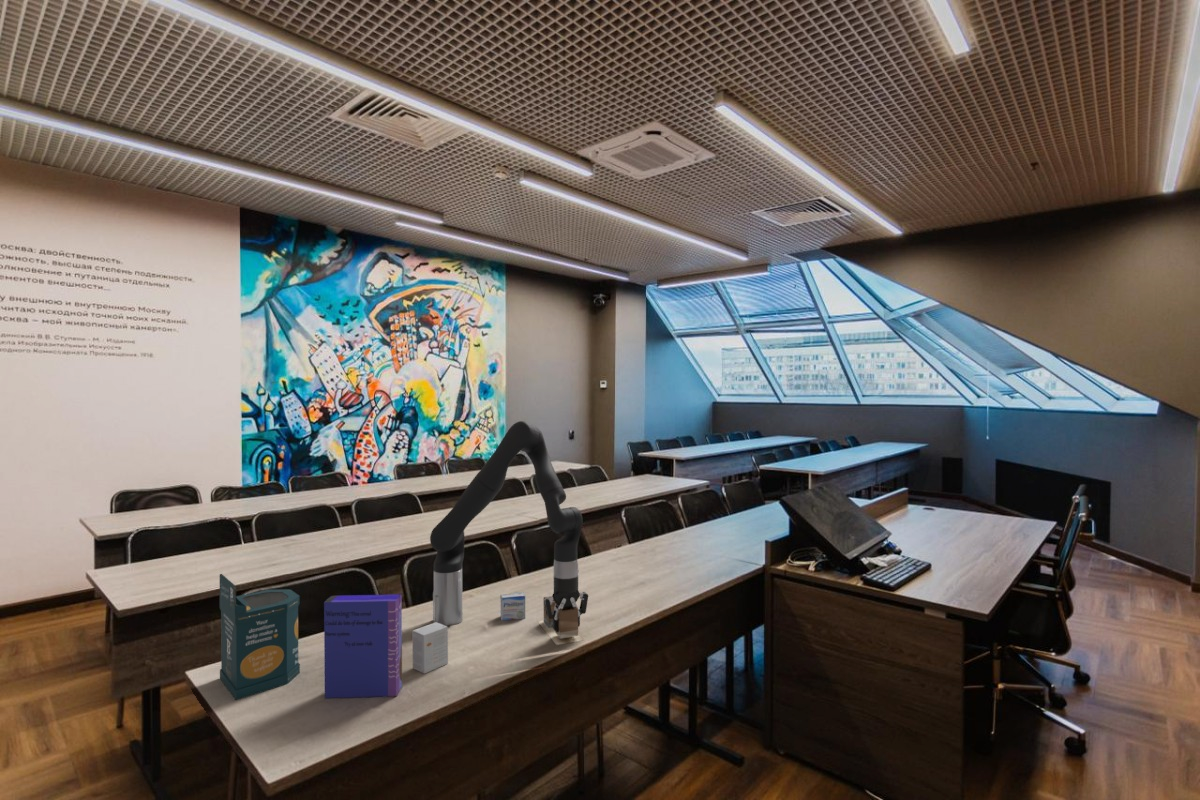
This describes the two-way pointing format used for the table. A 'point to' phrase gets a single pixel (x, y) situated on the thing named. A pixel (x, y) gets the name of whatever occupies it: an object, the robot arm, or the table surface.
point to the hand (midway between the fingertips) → (566, 629)
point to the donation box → (257, 639)
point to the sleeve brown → (568, 623)
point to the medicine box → (512, 606)
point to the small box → (430, 647)
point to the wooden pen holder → (547, 621)
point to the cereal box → (363, 646)
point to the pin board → (556, 638)
